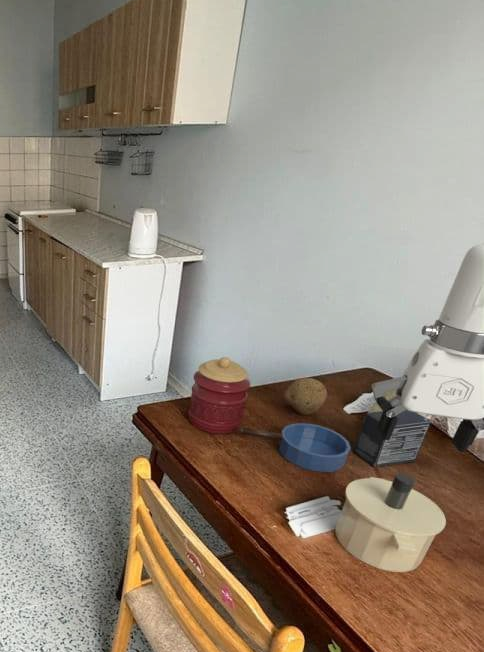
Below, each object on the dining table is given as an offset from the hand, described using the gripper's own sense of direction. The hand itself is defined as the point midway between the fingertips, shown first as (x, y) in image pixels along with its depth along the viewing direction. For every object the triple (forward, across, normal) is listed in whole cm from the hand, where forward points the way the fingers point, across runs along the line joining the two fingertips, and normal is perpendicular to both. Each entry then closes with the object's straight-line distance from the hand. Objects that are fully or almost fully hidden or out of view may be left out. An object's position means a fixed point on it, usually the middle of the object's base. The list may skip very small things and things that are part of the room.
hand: (420, 441), depth 73 cm
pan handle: (+19, -18, +26) cm, 37 cm away
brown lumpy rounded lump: (+22, -7, +45) cm, 51 cm away
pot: (+22, 0, 0) cm, 22 cm away
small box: (+22, +8, +30) cm, 38 cm away
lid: (+13, 0, 0) cm, 13 cm away
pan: (+22, -7, +26) cm, 35 cm away
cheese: (+22, +12, +47) cm, 53 cm away
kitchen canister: (+22, -28, +34) cm, 49 cm away
